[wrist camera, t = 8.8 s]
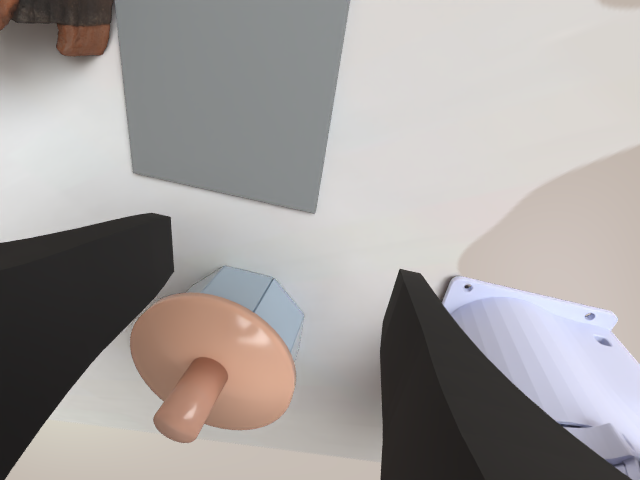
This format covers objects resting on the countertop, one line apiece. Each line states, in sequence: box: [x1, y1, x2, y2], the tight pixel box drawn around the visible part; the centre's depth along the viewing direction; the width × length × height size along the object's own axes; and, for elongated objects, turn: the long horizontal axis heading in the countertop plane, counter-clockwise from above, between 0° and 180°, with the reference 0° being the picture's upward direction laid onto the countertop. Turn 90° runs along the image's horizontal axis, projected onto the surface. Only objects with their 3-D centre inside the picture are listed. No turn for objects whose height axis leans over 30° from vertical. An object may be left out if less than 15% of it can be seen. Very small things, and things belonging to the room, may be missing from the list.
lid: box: [130, 292, 296, 443], centre depth 19 cm, size 10×10×4 cm
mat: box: [115, 0, 350, 213], centre depth 18 cm, size 12×12×1 cm
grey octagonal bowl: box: [186, 266, 304, 362], centre depth 23 cm, size 9×9×5 cm
